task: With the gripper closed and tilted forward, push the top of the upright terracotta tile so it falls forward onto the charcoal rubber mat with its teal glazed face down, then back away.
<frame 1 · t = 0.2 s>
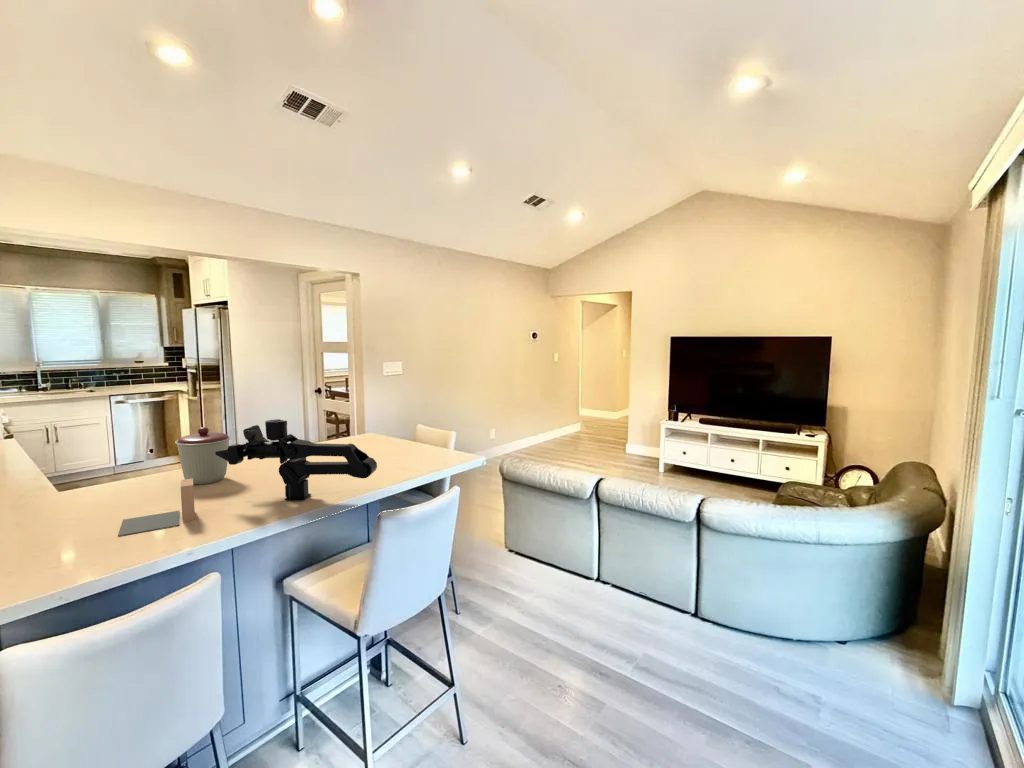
hand: (224, 450, 164), 16 cm above the table, tool horizontal, fingers open, 9 cm apart
mat: (150, 523, 141), on the table
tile: (189, 516, 147), on the table
canister: (206, 481, 183), on the table
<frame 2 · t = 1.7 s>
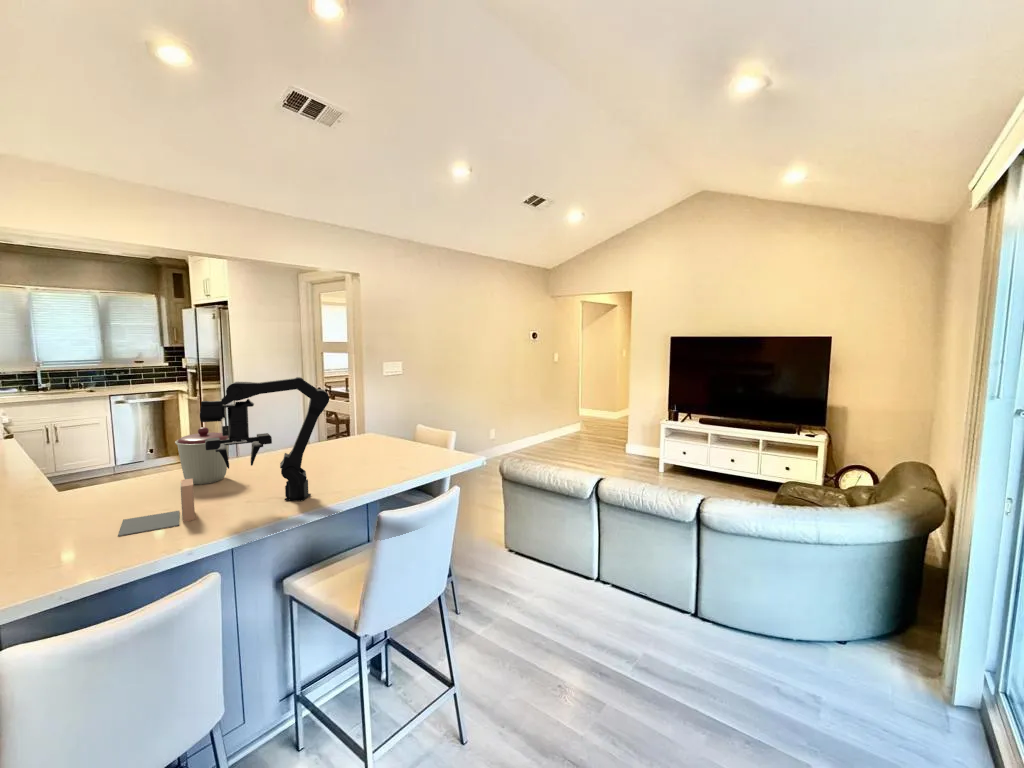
hand: (240, 466, 156), 13 cm above the table, tool pointing down, fingers open, 6 cm apart
nothing on the table moved.
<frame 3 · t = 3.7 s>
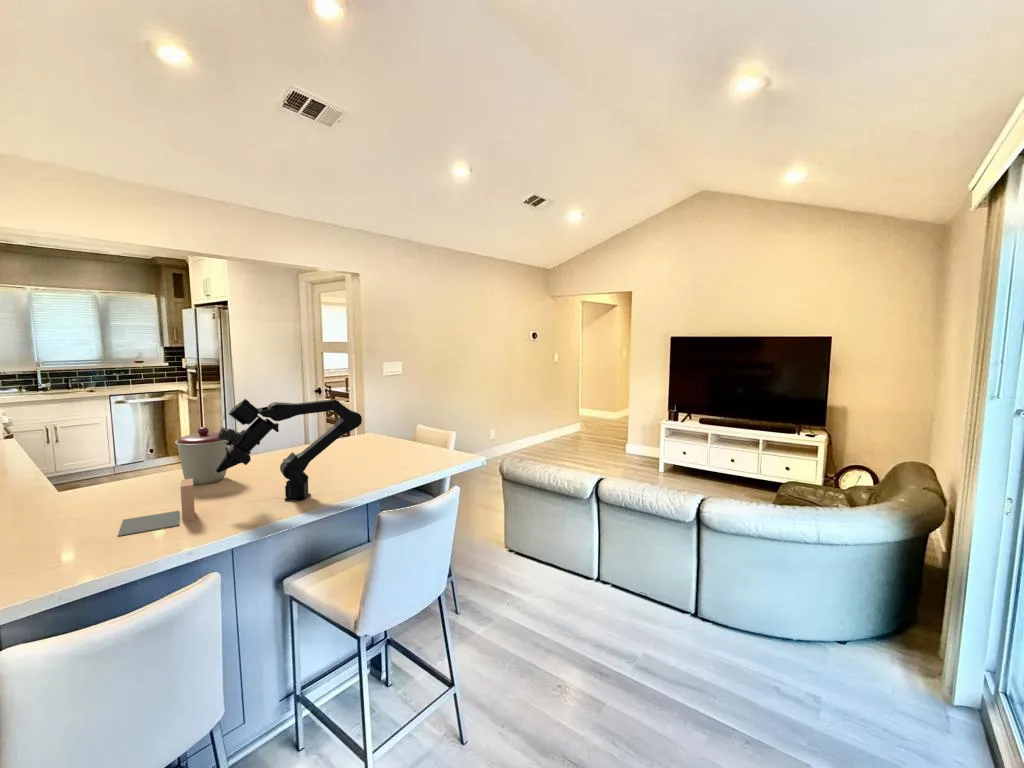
hand: (217, 471, 150), 13 cm above the table, tool tilted 45°, fingers closed
nothing on the table moved.
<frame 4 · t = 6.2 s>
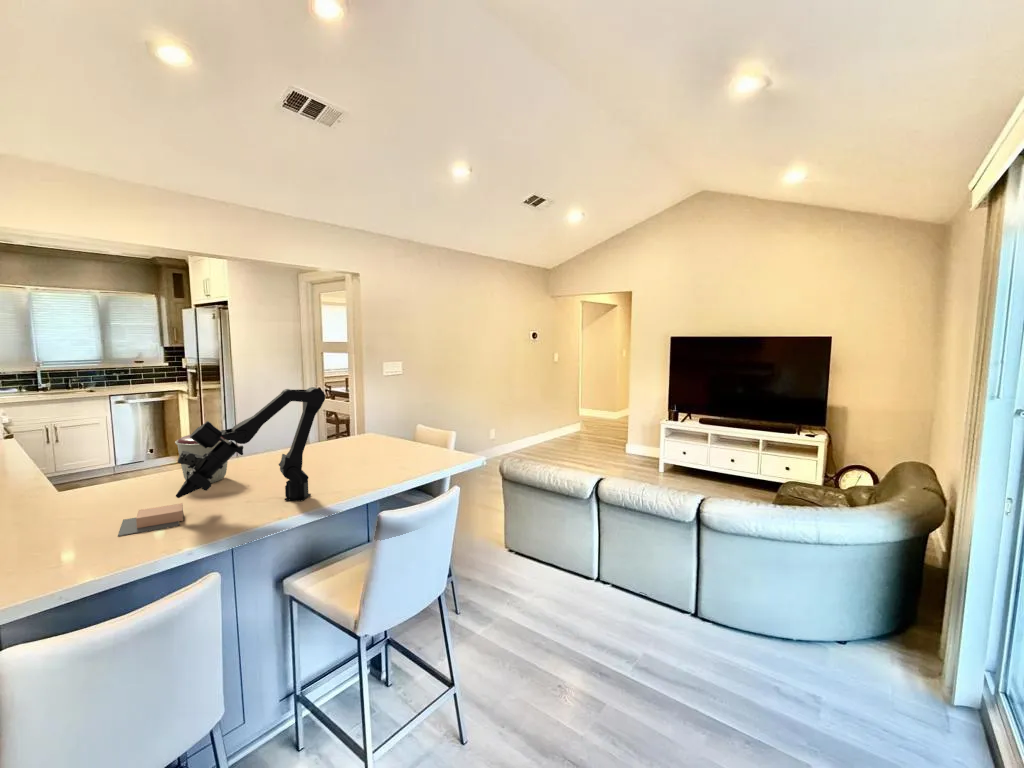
hand: (176, 497, 145), 7 cm above the table, tool tilted 45°, fingers closed
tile: (182, 511, 146), point 2 cm above the table, tilted 90°, touching mat
everything else where it was.
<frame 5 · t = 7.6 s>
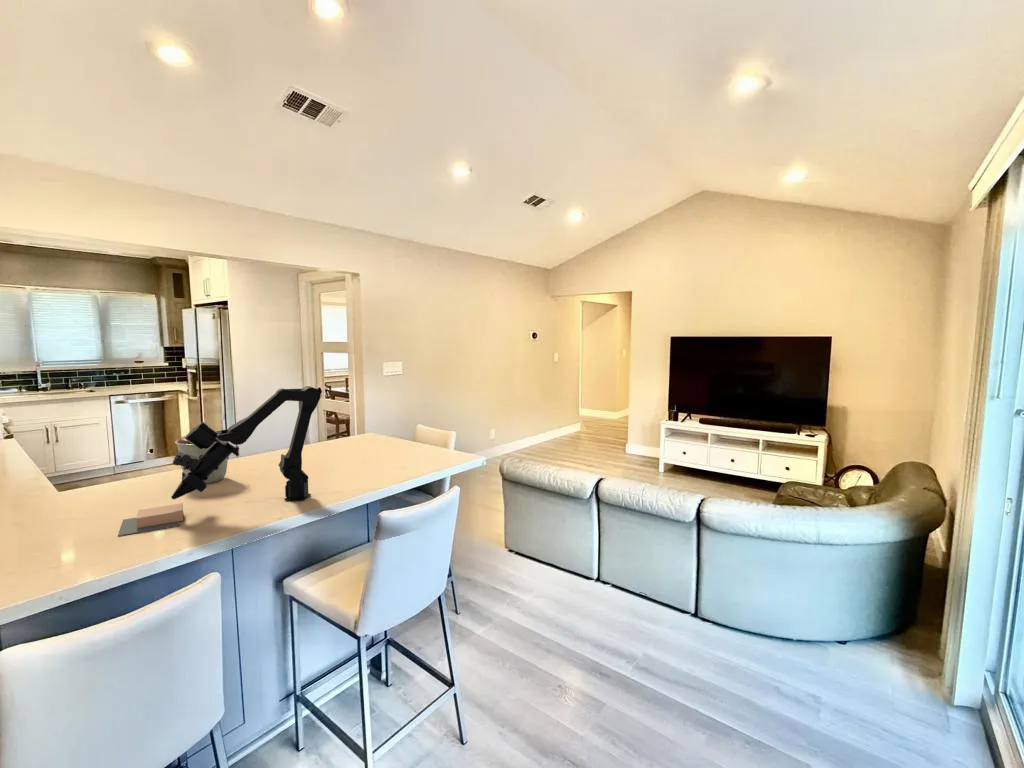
hand: (172, 498, 144), 7 cm above the table, tool tilted 45°, fingers closed
nothing on the table moved.
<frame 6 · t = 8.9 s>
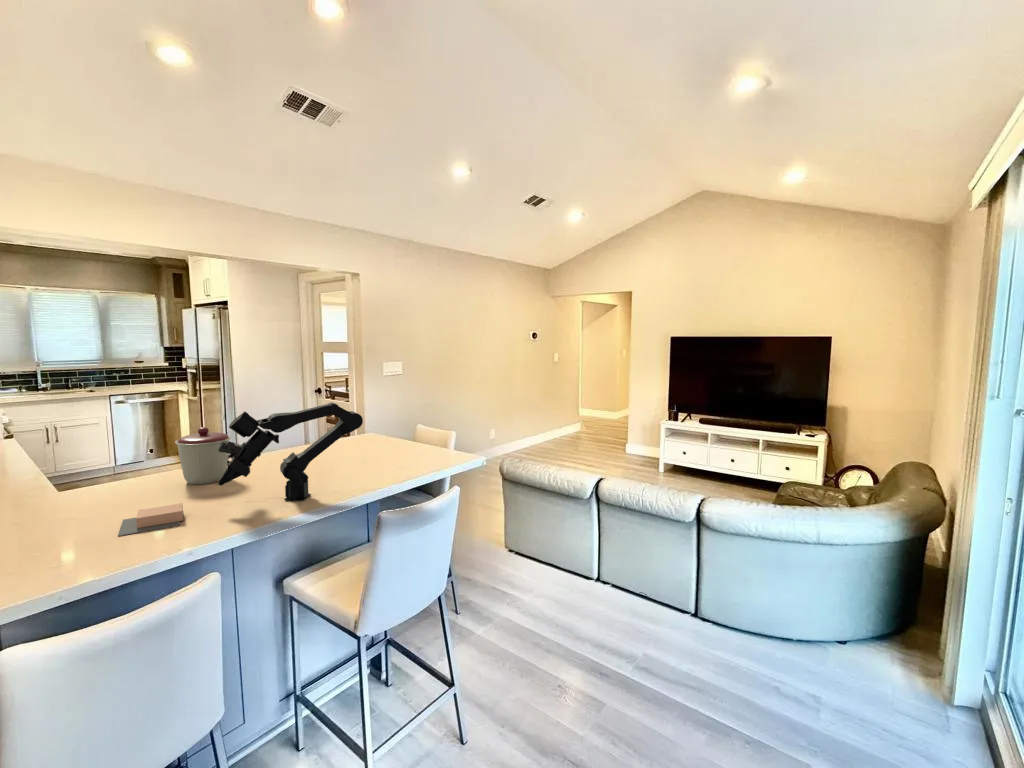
hand: (219, 484, 151), 9 cm above the table, tool tilted 45°, fingers closed
nothing on the table moved.
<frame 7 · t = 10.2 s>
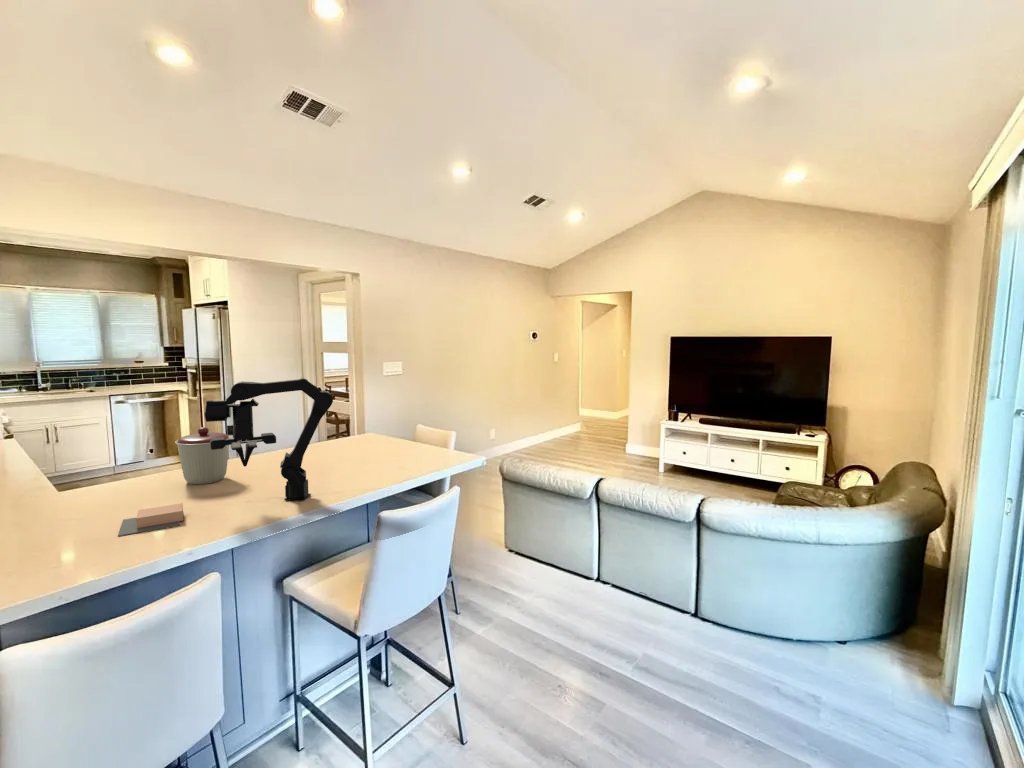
hand: (244, 466, 157), 13 cm above the table, tool pointing down, fingers closed
nothing on the table moved.
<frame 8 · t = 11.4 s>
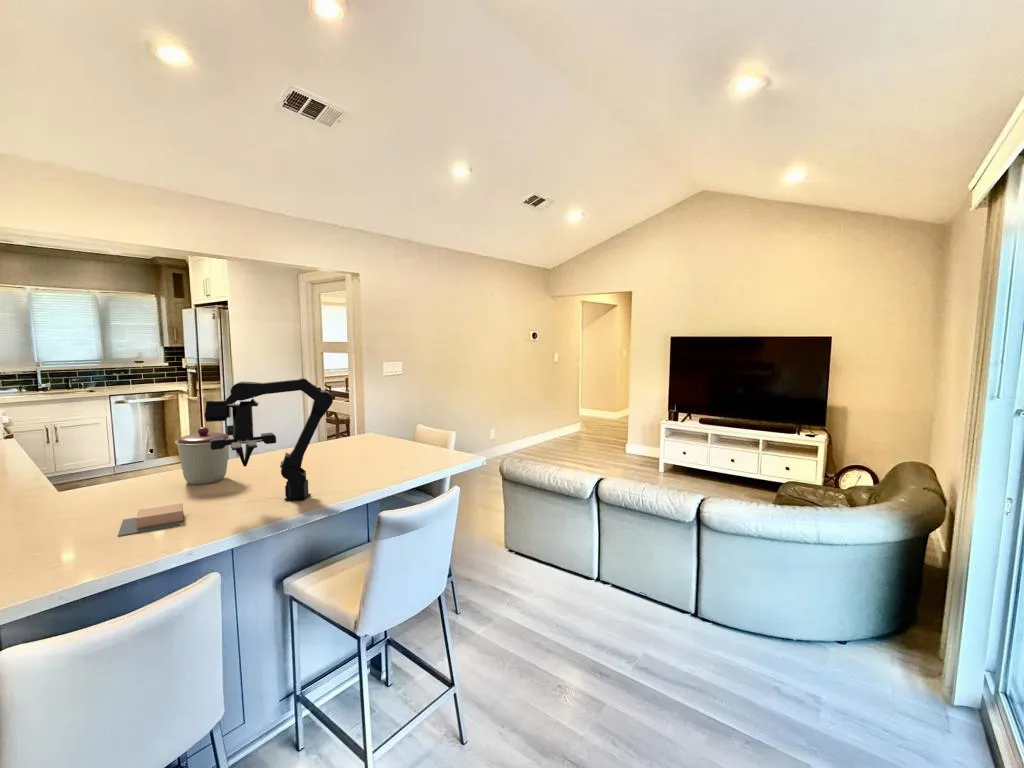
hand: (244, 466, 157), 13 cm above the table, tool pointing down, fingers closed
nothing on the table moved.
at the end: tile tilted 90°; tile 8.0 cm from the mat (horizontally); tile point 1.9 cm above the table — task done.
